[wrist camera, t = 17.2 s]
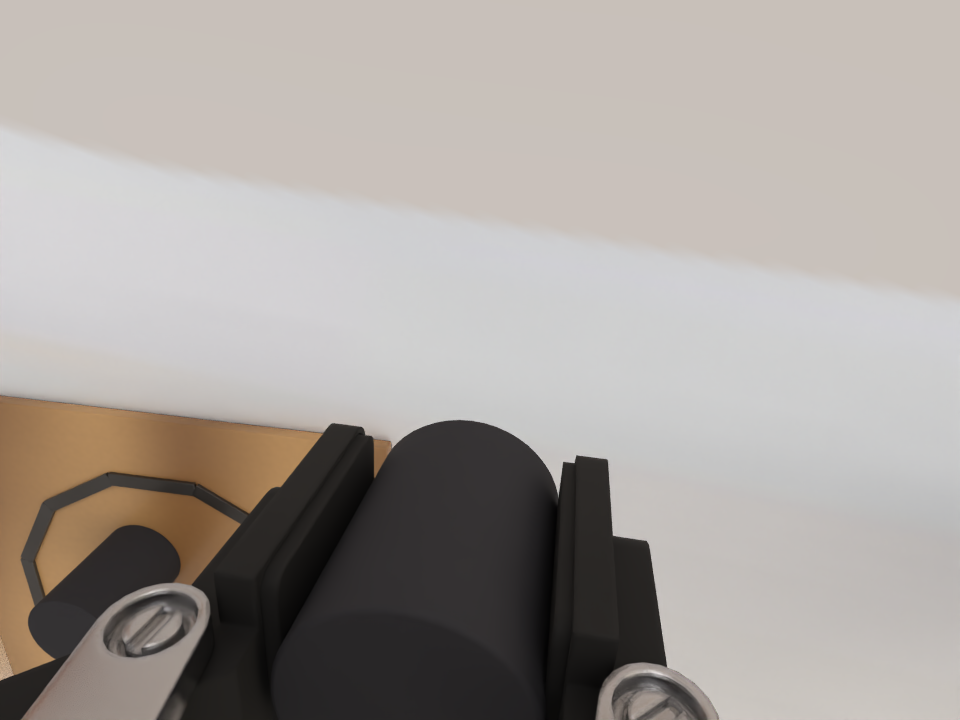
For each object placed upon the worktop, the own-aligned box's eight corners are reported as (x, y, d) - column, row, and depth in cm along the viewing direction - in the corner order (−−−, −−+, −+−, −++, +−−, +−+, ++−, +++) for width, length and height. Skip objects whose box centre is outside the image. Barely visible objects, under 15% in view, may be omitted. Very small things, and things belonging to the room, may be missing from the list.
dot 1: (569, 431, 11) (560, 638, 6) (549, 584, 12) (531, 836, 8) (378, 406, 11) (256, 587, 7) (379, 558, 12) (277, 783, 8)
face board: (391, 440, 24) (386, 451, 23) (392, 774, 32) (388, 789, 31) (-71, 386, 26) (-88, 394, 25) (38, 713, 34) (27, 726, 33)
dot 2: (175, 529, 26) (103, 608, 22) (185, 590, 28) (119, 675, 24) (101, 519, 27) (17, 595, 23) (115, 580, 28) (38, 662, 24)
